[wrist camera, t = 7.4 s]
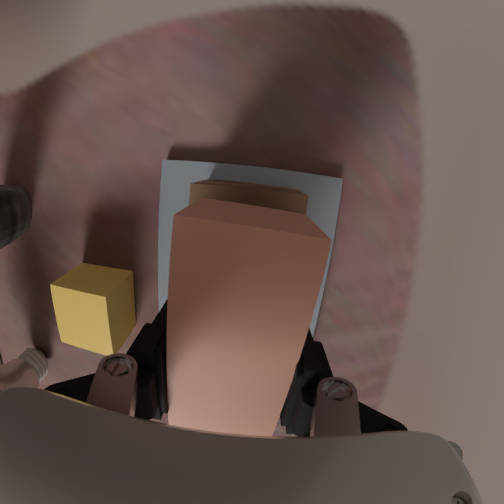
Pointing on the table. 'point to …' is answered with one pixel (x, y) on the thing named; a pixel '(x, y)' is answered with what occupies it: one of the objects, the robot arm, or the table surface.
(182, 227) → the beam
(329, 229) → the board
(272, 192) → the pier
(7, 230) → the beverage cup
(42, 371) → the light bulb
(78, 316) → the cube
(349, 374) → the table surface
